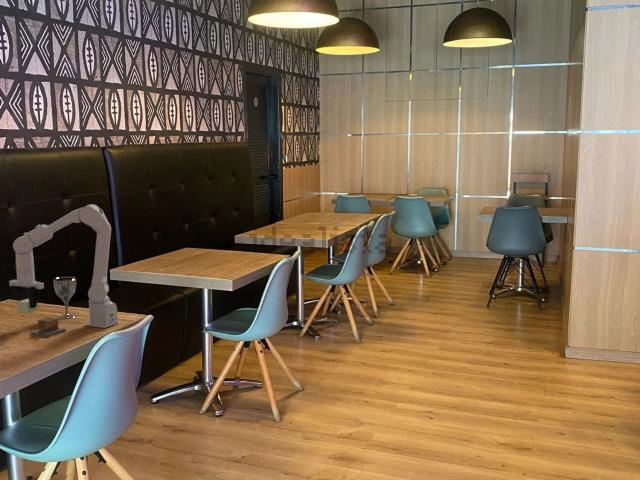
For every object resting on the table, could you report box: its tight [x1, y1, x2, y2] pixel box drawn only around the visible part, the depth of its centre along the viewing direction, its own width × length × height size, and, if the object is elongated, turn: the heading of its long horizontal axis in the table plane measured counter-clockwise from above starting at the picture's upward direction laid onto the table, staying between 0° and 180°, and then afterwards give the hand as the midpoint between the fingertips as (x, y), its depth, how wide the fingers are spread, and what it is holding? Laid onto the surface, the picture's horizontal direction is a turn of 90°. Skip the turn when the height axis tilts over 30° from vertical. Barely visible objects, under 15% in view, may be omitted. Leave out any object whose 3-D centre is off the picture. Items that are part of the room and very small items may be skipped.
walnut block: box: [37, 316, 59, 333], centre depth 221 cm, size 4×4×4 cm
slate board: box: [29, 327, 66, 339], centre depth 221 cm, size 8×8×1 cm
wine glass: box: [53, 276, 78, 320], centre depth 241 cm, size 8×8×15 cm
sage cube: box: [17, 298, 39, 315], centre depth 226 cm, size 4×4×4 cm
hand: (28, 306), depth 226 cm, fingers closed on sage cube, 4 cm apart
